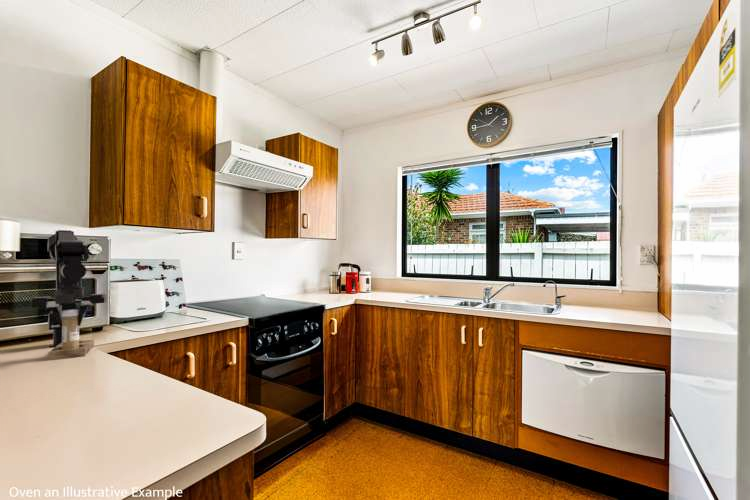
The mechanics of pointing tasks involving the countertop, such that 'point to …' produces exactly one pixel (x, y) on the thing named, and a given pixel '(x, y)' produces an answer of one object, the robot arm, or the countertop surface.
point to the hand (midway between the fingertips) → (70, 326)
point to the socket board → (71, 350)
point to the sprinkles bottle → (70, 329)
